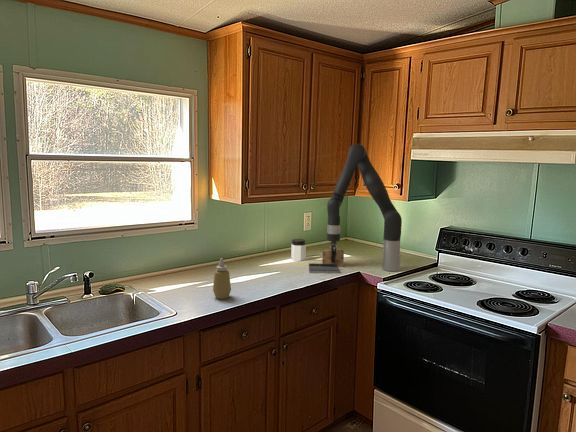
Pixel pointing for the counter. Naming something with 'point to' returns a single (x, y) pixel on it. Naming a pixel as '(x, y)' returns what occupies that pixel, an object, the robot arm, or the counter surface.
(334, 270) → the floor track
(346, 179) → the robot arm
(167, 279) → the counter surface
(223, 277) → the squeeze bottle
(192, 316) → the counter surface
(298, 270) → the counter surface
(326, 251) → the door panel
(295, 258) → the jar
